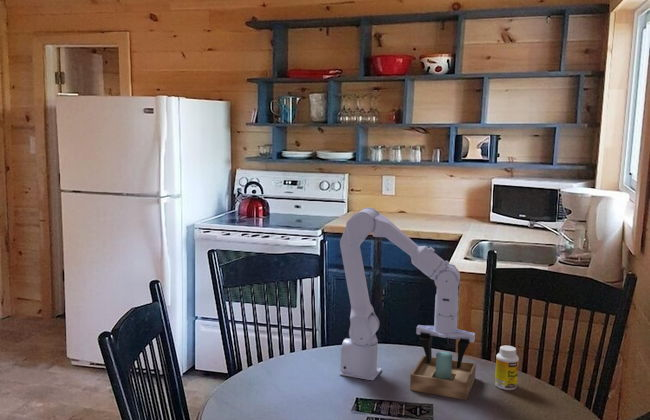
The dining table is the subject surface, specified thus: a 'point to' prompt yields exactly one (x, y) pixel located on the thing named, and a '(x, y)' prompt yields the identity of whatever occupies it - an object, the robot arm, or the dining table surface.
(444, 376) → the peg
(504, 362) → the supplement bottle
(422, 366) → the box
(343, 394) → the dining table surface
